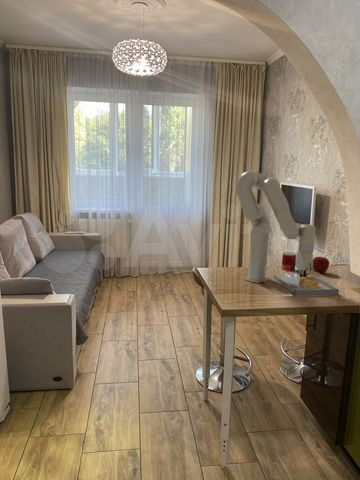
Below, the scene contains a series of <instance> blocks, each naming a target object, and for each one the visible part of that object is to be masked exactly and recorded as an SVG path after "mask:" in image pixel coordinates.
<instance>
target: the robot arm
mask: <svg viewBox="0 0 360 480" xmlns="http://www.w3.org/2000/svg"><path fill="white" fill-rule="evenodd" d="M253 188H255V189H257V190H260V191H263V193H264V195H265V197H266V199H267V201H268V203H269V204H270V207H271V209H272V212H273V214H274V215H275V218H276V221H277V224H278V226H279V227H280V229H281V232H282V233H283V235H284V236H285V237H286V239H288V240H295V239H297V238H298V237H299V238H298V250H297V253H296V264H295V268H297V269H298V271H299V277H308V275H310V274H311V272H312V270H313V259H314V247H315V239H316V226H315V225H314V224H306V223H305V224H303V223H302V224H301V223H299V222H298V223H297V222H295V220H294V218H293V216H292V213H291V211H290V210H291V209H290V205H289V202H288V200H287V198H286V196H285V194H284V192H283V190H282V188H281V183H280V181H279V180H278V179H277V178H275V177H273V176H270V175H266V174H264V173H260V172H258V171H254V170H247V171H245V172H243V173H242V174H241V175H240V176H239V177H238V178H237V180H236V183H235V192H236V195H237V199H238V201H239V203H240V206H241V209H242V211H243V215H244V217H245V219H246V220H247V221H248V222H250V224H251V226H252V227H251V229H250V233H249V234H250V235H249V239H250V240H249V241H250V242H249V259H248V274H247V275H245V277H244V280H246V281H248V282H252V283H259V284H260V283H261V284H262V283H264V282H265V281H268V280H269V278H268V277H267V276H266V275H267V274H266V273H267V266H268V265H267V263H268V251H269V250H268V249H269V236H270V234H271V232H272V227H271V224H270V221H269V218H268V216H267V214H266V211H265V209H264V208H263V206H262V205H261V204H259V203H258V201H257V198H256V196H255V193H254V191H253Z"/></svg>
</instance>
